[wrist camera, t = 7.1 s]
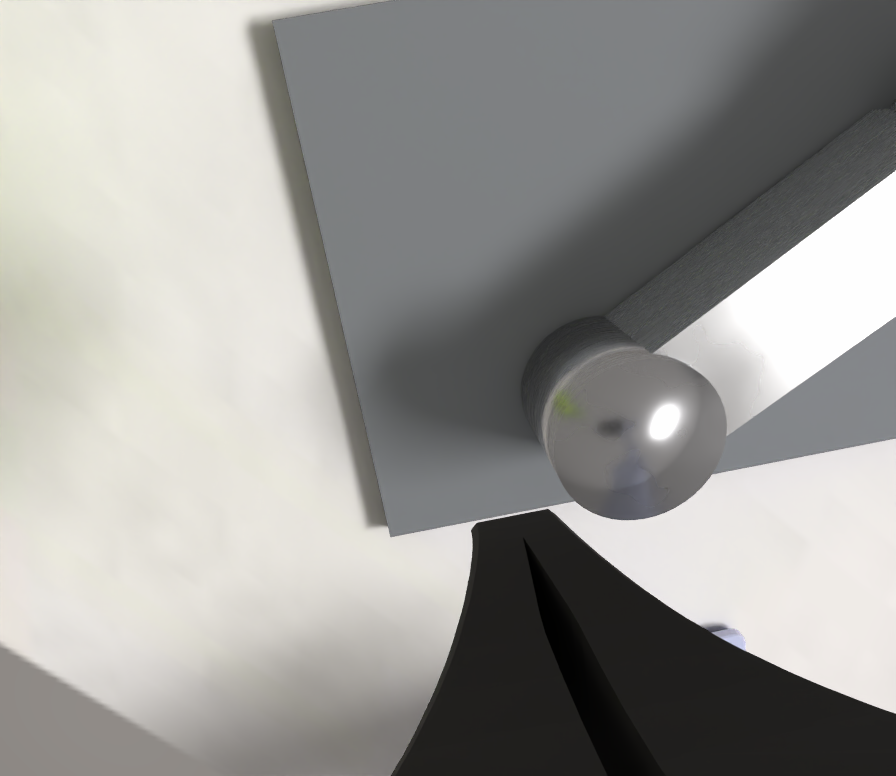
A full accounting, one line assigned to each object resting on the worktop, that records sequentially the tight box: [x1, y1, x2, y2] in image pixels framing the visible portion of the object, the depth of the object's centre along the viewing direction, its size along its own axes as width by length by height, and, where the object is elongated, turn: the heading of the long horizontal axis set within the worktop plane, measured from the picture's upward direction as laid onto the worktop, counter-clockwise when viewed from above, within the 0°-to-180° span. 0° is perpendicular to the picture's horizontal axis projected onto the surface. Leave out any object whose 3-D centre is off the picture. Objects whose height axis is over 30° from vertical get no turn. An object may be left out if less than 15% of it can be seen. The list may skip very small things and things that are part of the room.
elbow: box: [521, 99, 896, 520], centre depth 17 cm, size 14×5×5 cm, turn 129°
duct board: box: [272, 0, 896, 537], centre depth 17 cm, size 15×25×6 cm, turn 99°
